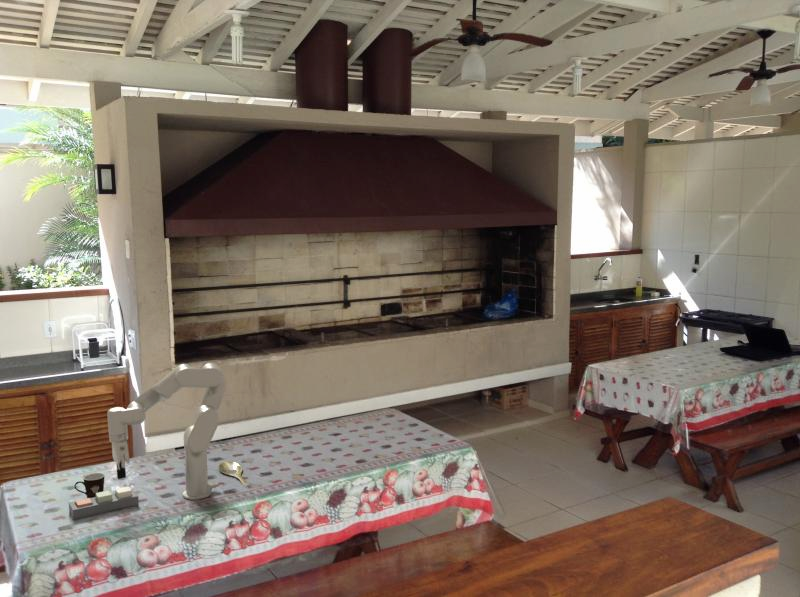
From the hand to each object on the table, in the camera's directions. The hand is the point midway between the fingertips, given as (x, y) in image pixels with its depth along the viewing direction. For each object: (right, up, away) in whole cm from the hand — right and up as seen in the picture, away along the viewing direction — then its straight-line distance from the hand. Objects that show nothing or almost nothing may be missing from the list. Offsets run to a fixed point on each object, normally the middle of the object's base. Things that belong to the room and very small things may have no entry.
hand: (121, 477), depth 307 cm
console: (-6, -13, -3) cm, 15 cm away
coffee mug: (-17, -12, +9) cm, 22 cm away
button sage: (-6, -10, -3) cm, 12 cm away
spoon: (+41, -9, +36) cm, 55 cm away
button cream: (0, -9, +2) cm, 10 cm away
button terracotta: (-13, -12, -7) cm, 19 cm away
